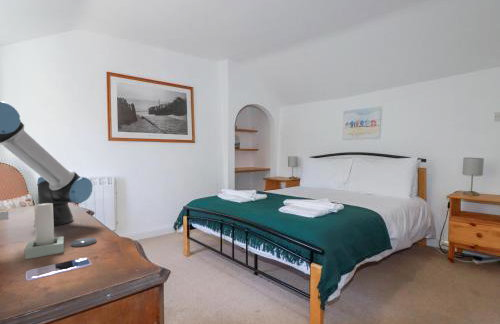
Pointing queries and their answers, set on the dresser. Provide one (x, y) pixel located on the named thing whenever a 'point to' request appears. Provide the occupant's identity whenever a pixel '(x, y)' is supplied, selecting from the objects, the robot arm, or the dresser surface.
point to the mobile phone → (57, 268)
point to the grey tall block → (44, 224)
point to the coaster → (83, 242)
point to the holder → (44, 248)
